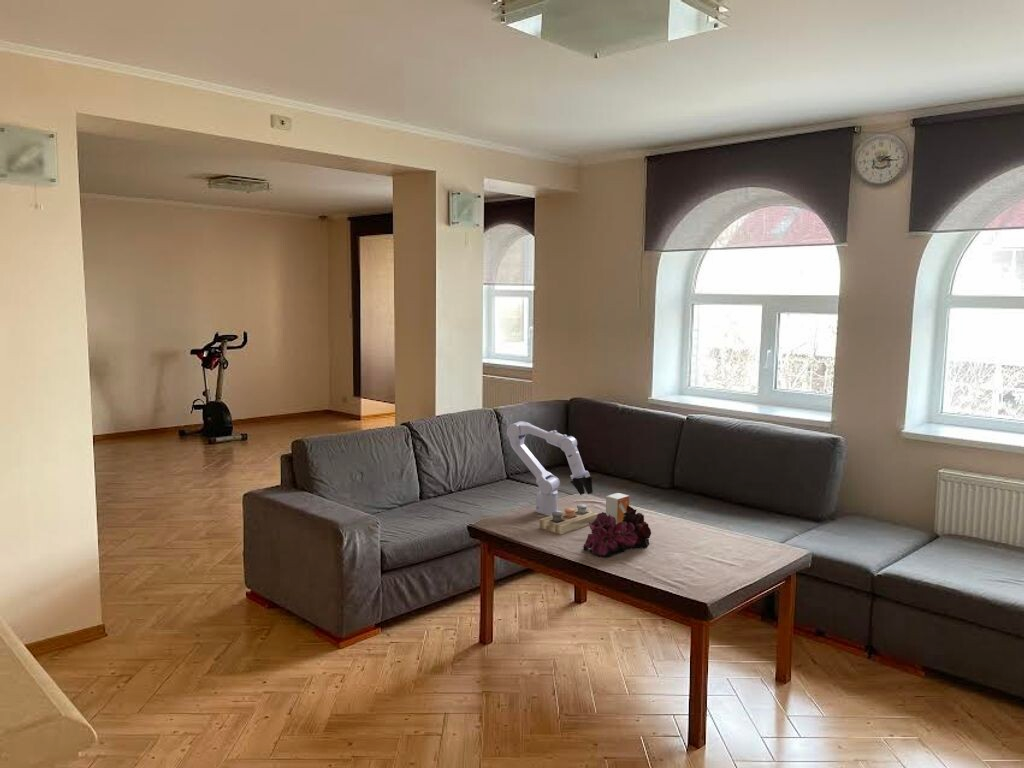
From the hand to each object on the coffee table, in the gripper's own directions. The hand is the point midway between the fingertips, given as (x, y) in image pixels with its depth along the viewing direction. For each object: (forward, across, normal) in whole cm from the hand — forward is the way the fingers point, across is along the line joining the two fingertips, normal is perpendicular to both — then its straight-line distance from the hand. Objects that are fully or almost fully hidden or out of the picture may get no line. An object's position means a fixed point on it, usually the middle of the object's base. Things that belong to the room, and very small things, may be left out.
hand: (586, 493), depth 318 cm
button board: (+9, -1, +13) cm, 16 cm away
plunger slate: (+7, +1, +5) cm, 9 cm away
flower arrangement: (+20, -31, +10) cm, 38 cm away
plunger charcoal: (+5, -5, +19) cm, 21 cm away
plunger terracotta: (+6, -2, +12) cm, 14 cm away
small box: (+16, -10, -4) cm, 19 cm away
